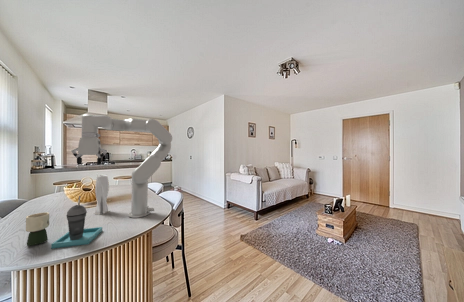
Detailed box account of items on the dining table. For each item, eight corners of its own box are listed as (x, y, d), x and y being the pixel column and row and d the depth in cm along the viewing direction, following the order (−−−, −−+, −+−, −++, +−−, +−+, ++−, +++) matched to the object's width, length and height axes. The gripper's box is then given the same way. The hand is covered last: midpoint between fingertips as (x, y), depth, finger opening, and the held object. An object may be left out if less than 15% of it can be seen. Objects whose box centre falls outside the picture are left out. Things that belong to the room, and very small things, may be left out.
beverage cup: (74, 234, 85) (75, 194, 85) (90, 233, 86) (90, 194, 86) (61, 242, 78) (62, 198, 78) (78, 241, 79) (79, 197, 79)
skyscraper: (90, 214, 114) (91, 172, 115) (101, 210, 122) (101, 171, 123) (101, 215, 113) (102, 173, 114) (111, 211, 121) (112, 171, 122)
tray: (102, 230, 91) (102, 226, 91) (88, 244, 78) (89, 239, 78) (70, 234, 87) (71, 230, 87) (51, 248, 74) (51, 243, 74)
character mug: (53, 242, 79) (54, 214, 79) (30, 250, 72) (30, 219, 72) (43, 237, 83) (44, 210, 83) (21, 244, 77) (21, 215, 77)
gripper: (109, 136, 108) (108, 164, 108) (76, 136, 103) (75, 164, 103) (104, 135, 101) (103, 164, 101) (68, 134, 96) (67, 165, 96)
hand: (89, 164), depth 102 cm, fingers open, 9 cm apart
